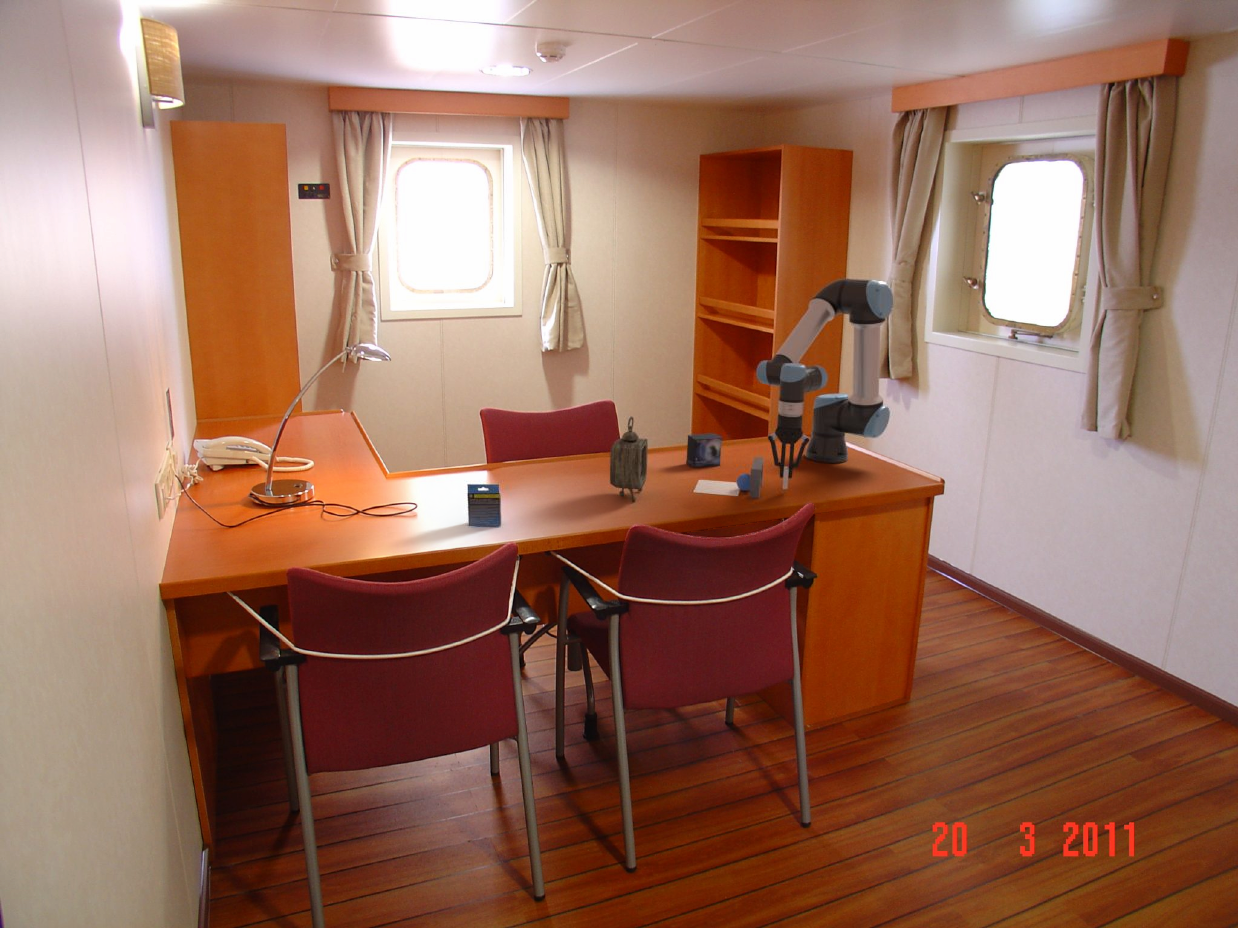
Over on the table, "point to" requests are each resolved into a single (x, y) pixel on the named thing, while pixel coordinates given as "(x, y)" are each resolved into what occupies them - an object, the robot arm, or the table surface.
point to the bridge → (756, 477)
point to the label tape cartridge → (484, 505)
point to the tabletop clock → (629, 462)
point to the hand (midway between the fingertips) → (785, 487)
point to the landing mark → (717, 488)
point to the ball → (744, 482)
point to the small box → (704, 450)
